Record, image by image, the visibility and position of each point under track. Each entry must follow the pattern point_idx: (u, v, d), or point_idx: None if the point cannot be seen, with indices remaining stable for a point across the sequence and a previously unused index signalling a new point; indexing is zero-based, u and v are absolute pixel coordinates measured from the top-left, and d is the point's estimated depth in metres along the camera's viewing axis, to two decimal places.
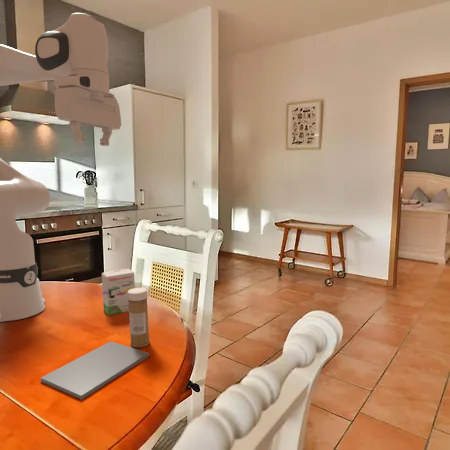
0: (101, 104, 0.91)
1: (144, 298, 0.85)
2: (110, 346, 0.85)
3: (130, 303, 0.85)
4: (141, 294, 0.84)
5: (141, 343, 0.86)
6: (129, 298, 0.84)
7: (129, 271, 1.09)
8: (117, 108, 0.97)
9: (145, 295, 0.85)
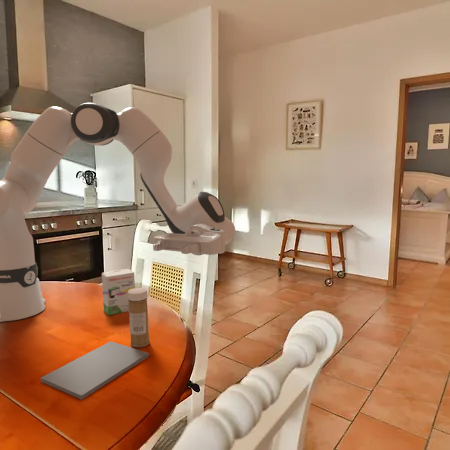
0: None
1: (144, 298, 0.85)
2: (110, 346, 0.85)
3: (130, 303, 0.85)
4: (141, 294, 0.84)
5: (141, 343, 0.86)
6: (129, 298, 0.84)
7: (129, 271, 1.09)
8: None
9: (145, 295, 0.85)
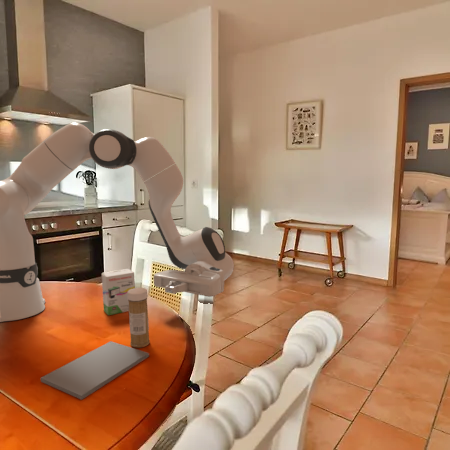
0: None
1: (144, 298, 0.85)
2: (110, 346, 0.85)
3: (130, 303, 0.85)
4: (141, 294, 0.84)
5: (141, 343, 0.86)
6: (129, 298, 0.84)
7: (129, 271, 1.09)
8: None
9: (145, 295, 0.85)
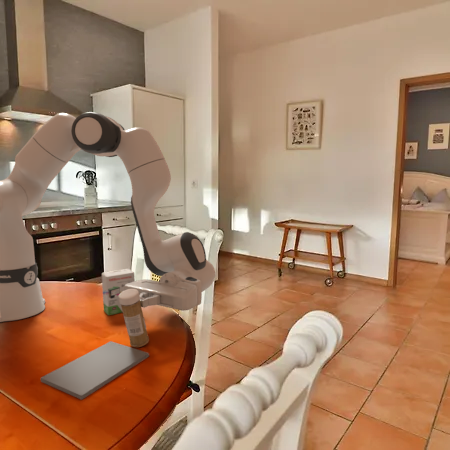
0: None
1: (136, 301, 0.83)
2: (110, 346, 0.85)
3: (123, 307, 0.83)
4: (132, 298, 0.82)
5: (140, 343, 0.85)
6: (121, 303, 0.82)
7: (129, 271, 1.09)
8: None
9: (137, 298, 0.83)
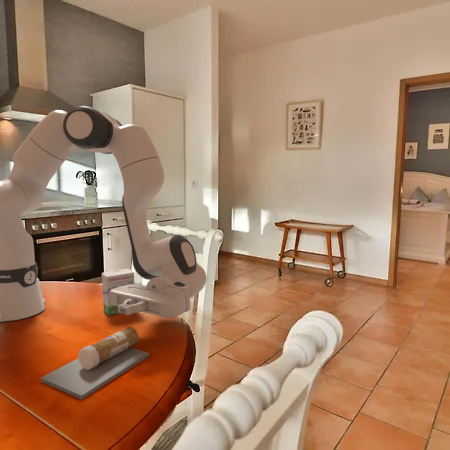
0: None
1: (98, 357, 0.75)
2: None
3: None
4: (94, 363, 0.74)
5: (135, 342, 0.84)
6: None
7: (129, 271, 1.09)
8: None
9: (95, 356, 0.74)
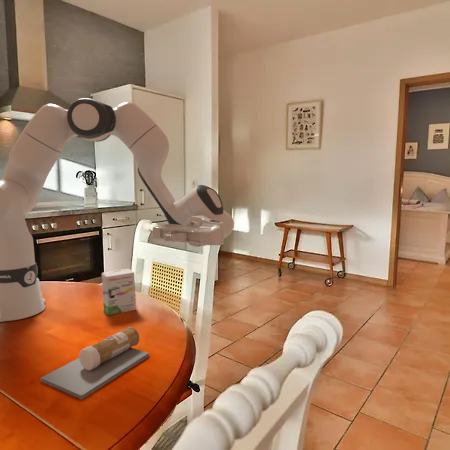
0: None
1: (99, 358, 0.75)
2: None
3: None
4: (94, 365, 0.74)
5: (135, 343, 0.84)
6: None
7: (129, 271, 1.09)
8: None
9: (97, 358, 0.74)
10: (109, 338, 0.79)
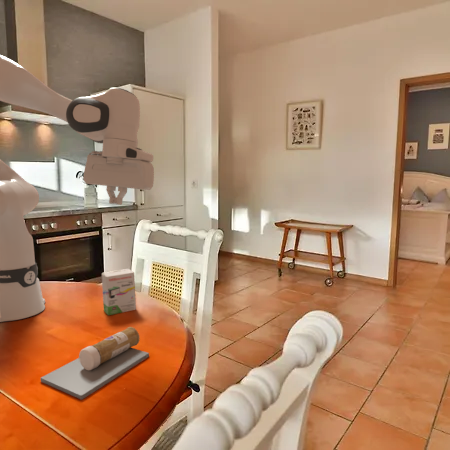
0: None
1: (99, 358, 0.75)
2: None
3: None
4: (94, 365, 0.74)
5: (135, 343, 0.84)
6: None
7: (129, 271, 1.09)
8: None
9: (97, 358, 0.74)
10: (109, 338, 0.79)
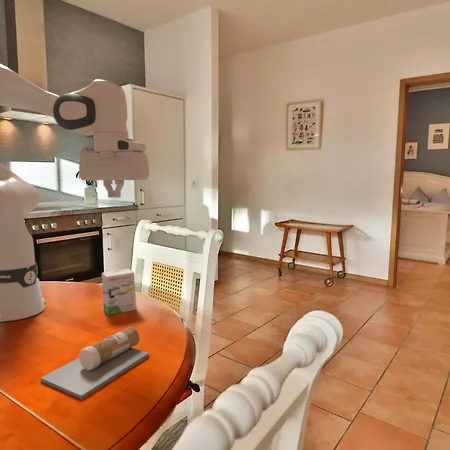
0: None
1: (99, 358, 0.75)
2: None
3: None
4: (94, 365, 0.74)
5: (135, 343, 0.84)
6: None
7: (129, 271, 1.09)
8: None
9: (97, 358, 0.74)
10: (109, 338, 0.79)
